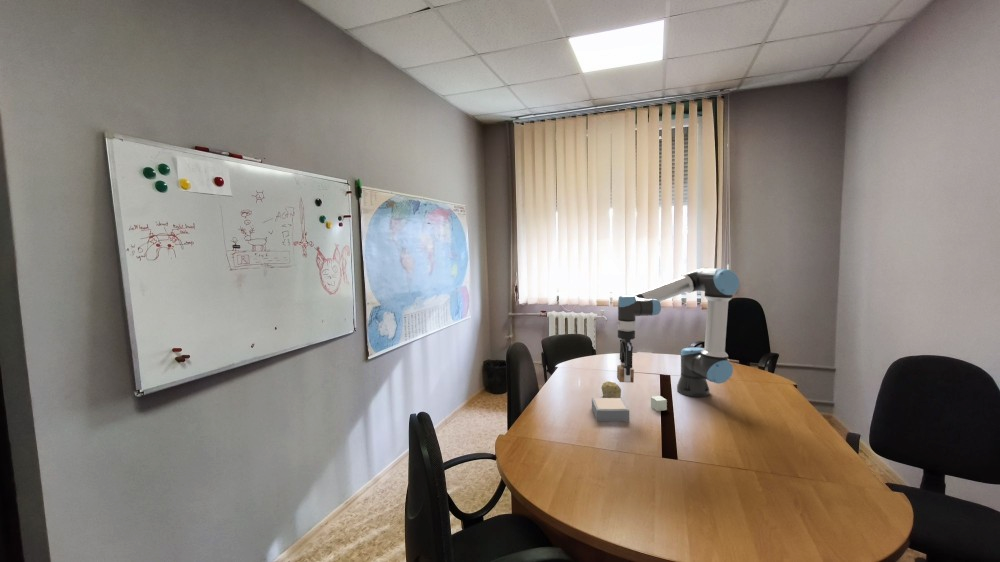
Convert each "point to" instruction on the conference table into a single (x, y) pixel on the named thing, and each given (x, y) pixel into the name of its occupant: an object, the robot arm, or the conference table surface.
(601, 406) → the plinth
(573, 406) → the conference table surface
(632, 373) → the walnut cube
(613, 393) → the decorative item
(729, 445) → the conference table surface
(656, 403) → the sage cube
